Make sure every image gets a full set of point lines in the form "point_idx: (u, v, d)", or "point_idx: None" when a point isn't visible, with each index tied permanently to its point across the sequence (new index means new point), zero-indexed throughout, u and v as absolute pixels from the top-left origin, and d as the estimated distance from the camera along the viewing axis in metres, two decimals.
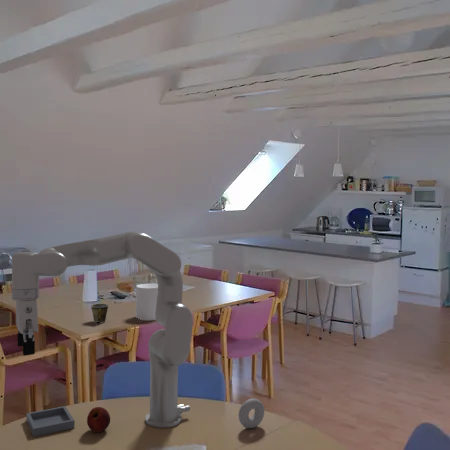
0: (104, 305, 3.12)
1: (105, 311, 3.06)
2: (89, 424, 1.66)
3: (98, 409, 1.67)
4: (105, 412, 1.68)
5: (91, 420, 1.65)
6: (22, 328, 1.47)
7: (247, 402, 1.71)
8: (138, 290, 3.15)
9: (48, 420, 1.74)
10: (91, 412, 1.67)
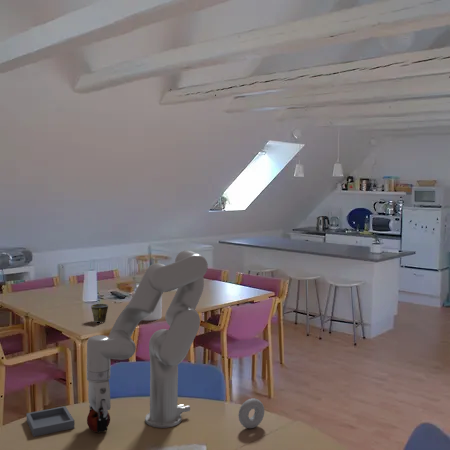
0: (104, 305, 3.12)
1: (105, 311, 3.06)
2: (89, 424, 1.66)
3: None
4: None
5: (91, 420, 1.65)
6: (97, 407, 1.63)
7: (247, 402, 1.71)
8: None
9: (48, 420, 1.74)
10: (91, 412, 1.67)
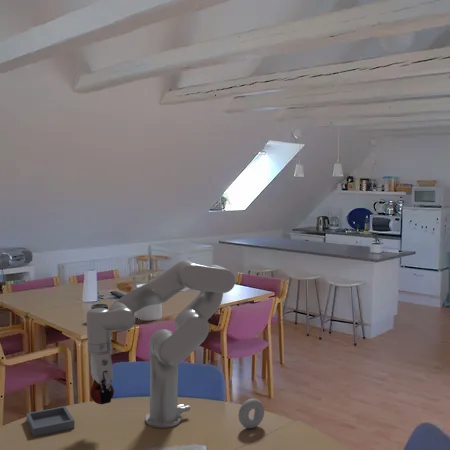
0: (104, 305, 3.12)
1: None
2: (93, 396, 1.66)
3: None
4: None
5: (94, 392, 1.65)
6: (100, 379, 1.63)
7: (247, 402, 1.71)
8: None
9: (48, 420, 1.74)
10: (94, 384, 1.67)
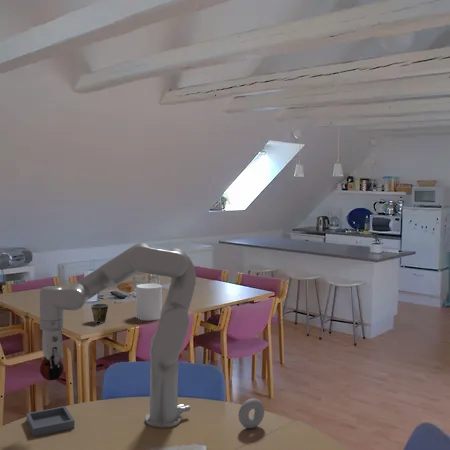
0: (104, 305, 3.12)
1: (105, 311, 3.06)
2: (42, 372, 1.69)
3: None
4: None
5: (43, 368, 1.68)
6: (49, 355, 1.66)
7: (247, 402, 1.71)
8: (138, 290, 3.15)
9: (48, 420, 1.74)
10: (44, 360, 1.70)
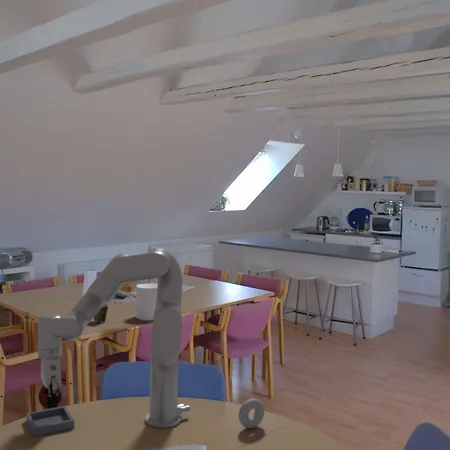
0: (104, 305, 3.12)
1: (105, 311, 3.06)
2: (40, 400, 1.69)
3: (49, 385, 1.71)
4: None
5: (41, 396, 1.69)
6: (47, 384, 1.67)
7: (247, 402, 1.71)
8: (138, 290, 3.15)
9: (48, 420, 1.74)
10: (42, 388, 1.70)
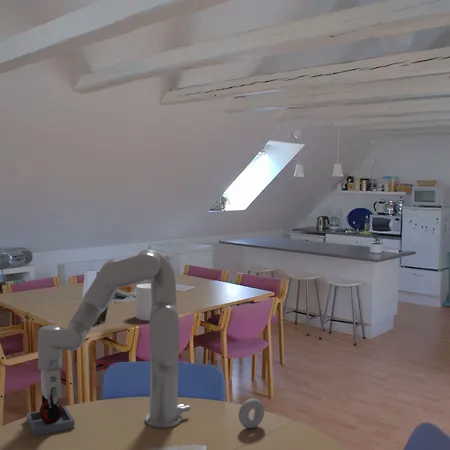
0: None
1: (105, 311, 3.06)
2: (41, 416, 1.70)
3: None
4: None
5: (42, 412, 1.69)
6: (47, 395, 1.67)
7: (247, 402, 1.71)
8: (138, 290, 3.15)
9: None
10: (43, 404, 1.71)
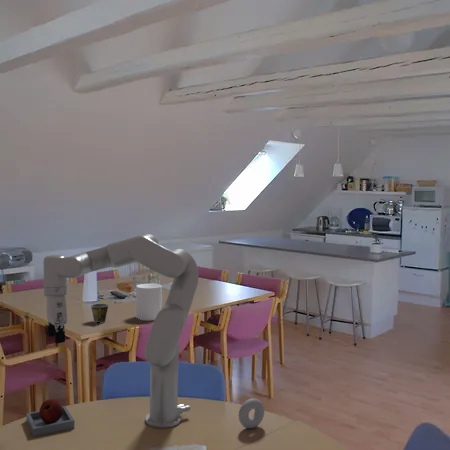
0: (104, 305, 3.12)
1: (105, 311, 3.06)
2: (41, 416, 1.70)
3: (50, 401, 1.71)
4: (57, 404, 1.72)
5: (42, 412, 1.69)
6: (54, 320, 1.73)
7: (247, 402, 1.71)
8: (138, 290, 3.15)
9: None
10: (43, 404, 1.71)
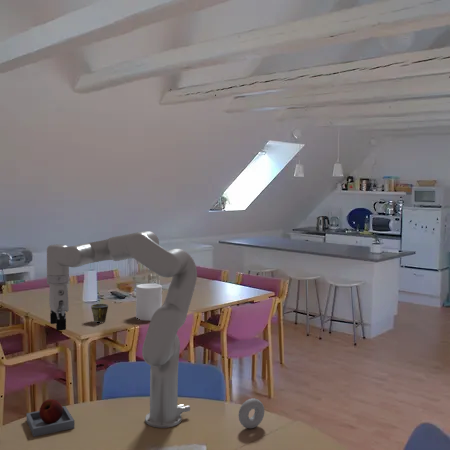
0: (104, 305, 3.12)
1: (105, 311, 3.06)
2: (41, 416, 1.70)
3: (50, 401, 1.71)
4: (57, 404, 1.72)
5: (42, 412, 1.69)
6: (56, 308, 1.77)
7: (247, 402, 1.71)
8: (138, 290, 3.15)
9: None
10: (43, 404, 1.71)
